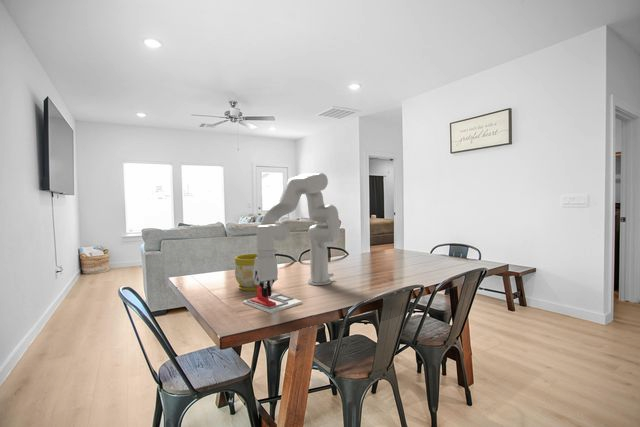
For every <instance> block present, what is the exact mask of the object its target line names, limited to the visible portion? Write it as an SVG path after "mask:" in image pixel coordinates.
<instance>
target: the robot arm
mask: <svg viewBox="0 0 640 427" xmlns="http://www.w3.org/2000/svg"><path fill="white" fill-rule="evenodd" d="M328 184H329V180H328V177H327V175H326V174H325V173H323V172H315V173H302V174H299V175H297V176H293V177H289V179H288V180H287V182H286V184H285V187H284V190H283V192H282V194H281V196H280V199H279V200H278V202H277V203H275V205H273V206H272V207H271V208H270V209H269V210H267V212H266V213H265V214H264V216H263V218H262V221H260V222H261V223H260V224H258V226H256V254H257V257H256V258H255V262H254V271H253V278H254V280H255V282H254V284H256V285H259V286H260V287H261V288H262V296H263V297H268V296H271V293H272V287H273V285H274V283H275V282H276V281H277V280H278V279H279V278H278V273H279V271H278V268H279V267H278V260H277V257H276V253H277V250H276V249H275V247H276V246H275V242H276V241H280V242H281V241H285V240H287V239H288V238H289V237H290V234H291V230H290V227H289V226H288V225H287V224H284V223H276V222H277V221H278V220H279V219H280V218H282V217H283V216H286V215H289V214H291V213H292V212H294V211H295V210H296V209H297V207H298V204H299V201H300V198H301V196H302V195H305V197H306V202H307V209H308V210H307V211H308V216H309V220H310V221H311V222H313V223H320V224H312V225H310V226H309V228H308V230H307V231H308V232H307V237H308V241H309V254H310V255H309V257H310V258H309V260H310V263H309V264H310V278H309V279H308V280H307V284H309V285H312V286H325V285H330V284H331V283H332V280H331V279H330V278H332V277H334V275H335V274H334V273H333V272H331V273H329V255H328V254H329V251H328V247H327V245H326V243H327V244H334V243H336V244H337V242H339V241H340V236H341V228H340V218H339V211H338V208H337V207H336V206H335V205H333V204H325V202H324V196H323V193H322V191H324V190H326V188H327V186H328ZM321 223H323V224H321ZM324 223H325V224H324ZM259 281H260V282H259ZM266 281H267V282H266ZM266 283H267V285H266ZM266 286H267V288H268V292H267V288H266Z"/></svg>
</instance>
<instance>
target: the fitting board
mask: <svg viewBox="0 0 640 427" xmlns="http://www.w3.org/2000/svg"><path fill="white" fill-rule="evenodd" d="M254 298H257V296H256V297H253V298H249V299H245V300H243V302H242V303H243V304H245V305H247V306H250V307H253V308H256V309H258V310H261V311H264V312H267V313H270V314H274V313H276V312H280V311H282V310H286V309H288V308H289V309H290V308H292V307H295V306H298V305H302V304H303V301H302V300H299V299H296V298H294V297H293V296H289V295H286V294H283V293H275V292H271V296H268V299H269V300H270V301H273V302H276V305H275V306H271V307H267V306H264V305H261V304H258V303H255V302H252V301H251V299H254Z"/></svg>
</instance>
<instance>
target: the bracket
mask: <svg viewBox="0 0 640 427" xmlns="http://www.w3.org/2000/svg"><path fill="white" fill-rule="evenodd" d="M266 288H267V285H266ZM267 292H268V288H267ZM256 297H257V298H256ZM256 297H253V298H254V299H252V298H250V299H251V301H252V302H255V303H258V304H261V305H264V306H267V307H271V306H275V305H276V302H273V301H270V300H269V299H268V297H263V296H262V288H261V287H260V286H259V285H258V286H257V290H256Z"/></svg>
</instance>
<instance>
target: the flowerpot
mask: <svg viewBox="0 0 640 427" xmlns="http://www.w3.org/2000/svg"><path fill="white" fill-rule="evenodd" d="M256 257H257V253H247V254H246V253H245V254H239V255H236V256H234V258H233V259H234V261H235V262H234V264H235V265H234V275H235V280H236V281H237V283H238V284H239V285H238V287H239V288H240V290H241V291H247V292H252V291H253V292H255V291H257V286H258V285H256V284H254V282H255V280H254V278H253V271H254V262H255V258H256ZM259 282H260V281H259ZM266 286H267V281H266Z"/></svg>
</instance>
